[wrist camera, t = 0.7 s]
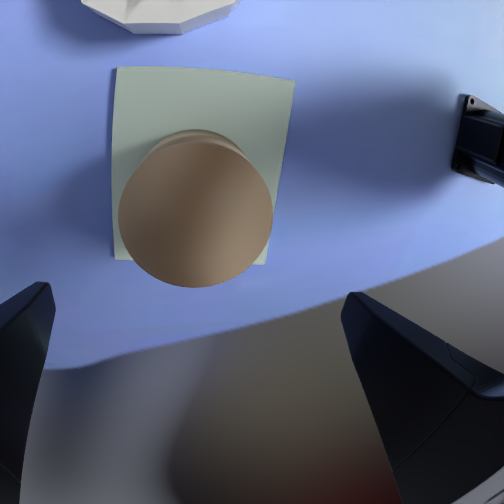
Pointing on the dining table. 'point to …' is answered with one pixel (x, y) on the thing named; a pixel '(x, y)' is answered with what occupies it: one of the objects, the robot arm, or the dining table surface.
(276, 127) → the mat
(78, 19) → the dining table surface
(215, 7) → the bowl
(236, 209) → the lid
